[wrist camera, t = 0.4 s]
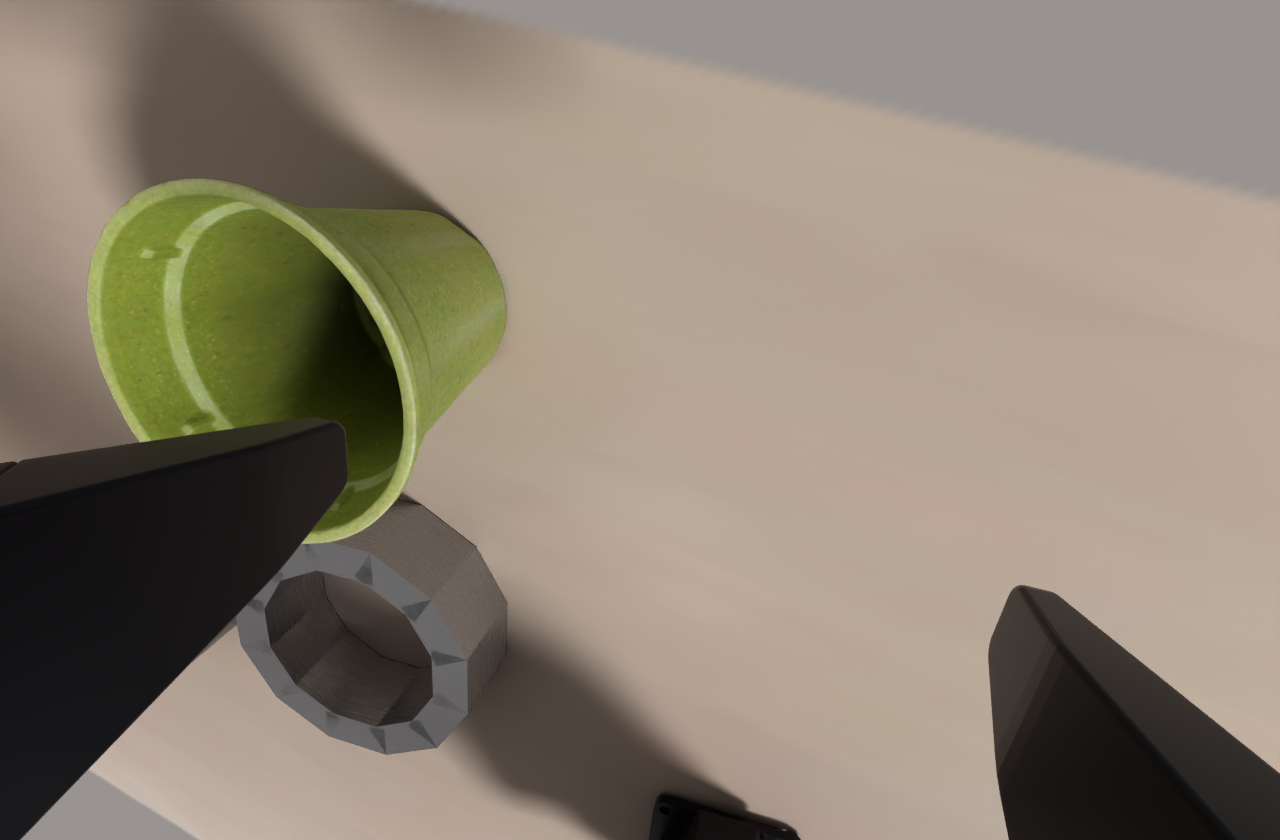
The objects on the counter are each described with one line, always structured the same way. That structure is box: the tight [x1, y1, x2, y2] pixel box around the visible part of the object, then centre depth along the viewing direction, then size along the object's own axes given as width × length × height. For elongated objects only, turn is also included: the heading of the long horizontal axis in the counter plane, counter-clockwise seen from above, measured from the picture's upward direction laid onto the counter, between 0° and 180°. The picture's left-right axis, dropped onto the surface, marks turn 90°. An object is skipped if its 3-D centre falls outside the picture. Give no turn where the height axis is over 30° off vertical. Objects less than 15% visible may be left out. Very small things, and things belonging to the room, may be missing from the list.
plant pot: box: [87, 178, 507, 544], centre depth 21 cm, size 9×9×9 cm
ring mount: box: [236, 499, 507, 755], centre depth 30 cm, size 10×10×4 cm
